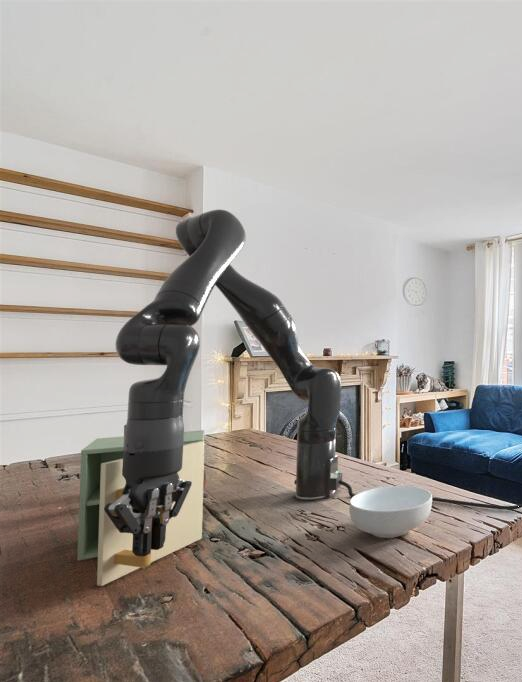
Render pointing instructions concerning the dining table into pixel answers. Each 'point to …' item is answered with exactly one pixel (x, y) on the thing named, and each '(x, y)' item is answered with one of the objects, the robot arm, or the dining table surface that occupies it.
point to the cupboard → (90, 487)
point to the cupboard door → (179, 530)
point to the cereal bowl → (390, 510)
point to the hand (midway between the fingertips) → (148, 551)
